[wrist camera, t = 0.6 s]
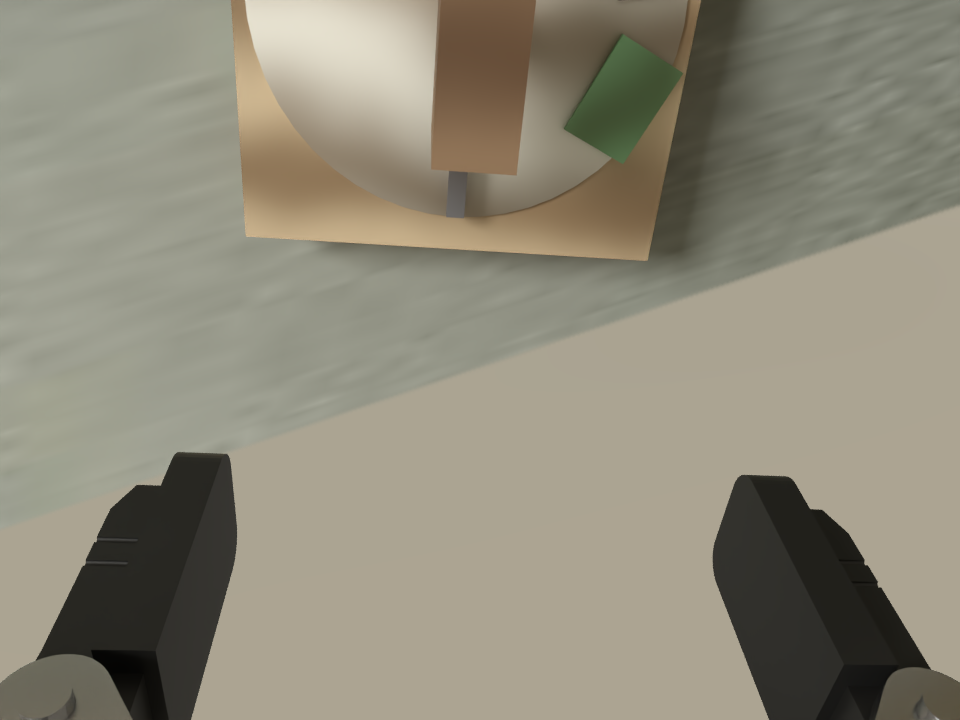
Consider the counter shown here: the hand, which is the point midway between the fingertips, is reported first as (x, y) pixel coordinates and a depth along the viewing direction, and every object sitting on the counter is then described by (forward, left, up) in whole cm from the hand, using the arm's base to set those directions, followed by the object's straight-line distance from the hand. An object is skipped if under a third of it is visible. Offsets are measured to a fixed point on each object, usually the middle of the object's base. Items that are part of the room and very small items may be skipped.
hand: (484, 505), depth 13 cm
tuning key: (-3, 0, -22) cm, 22 cm away
